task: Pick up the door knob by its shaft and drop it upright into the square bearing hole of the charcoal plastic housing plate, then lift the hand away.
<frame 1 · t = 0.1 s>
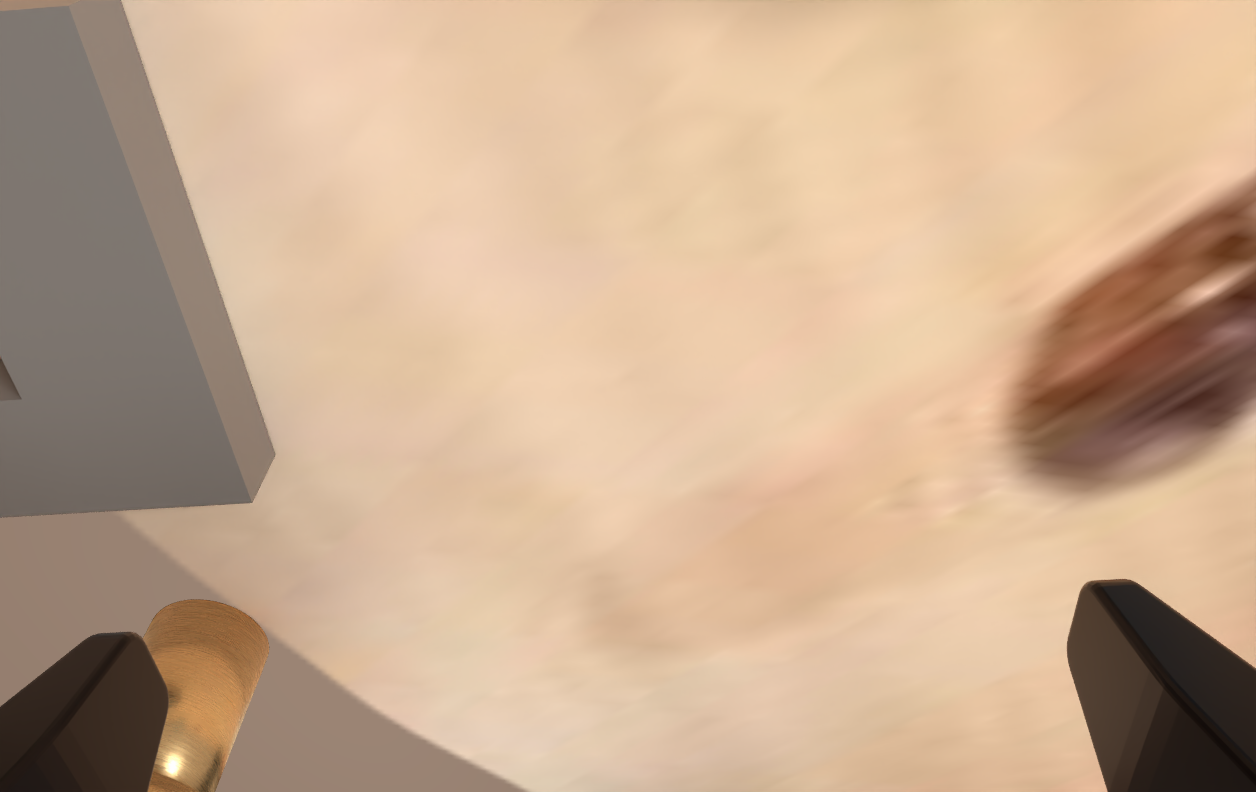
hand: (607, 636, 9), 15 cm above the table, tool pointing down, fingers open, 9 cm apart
door knob: (210, 640, 30), on the table
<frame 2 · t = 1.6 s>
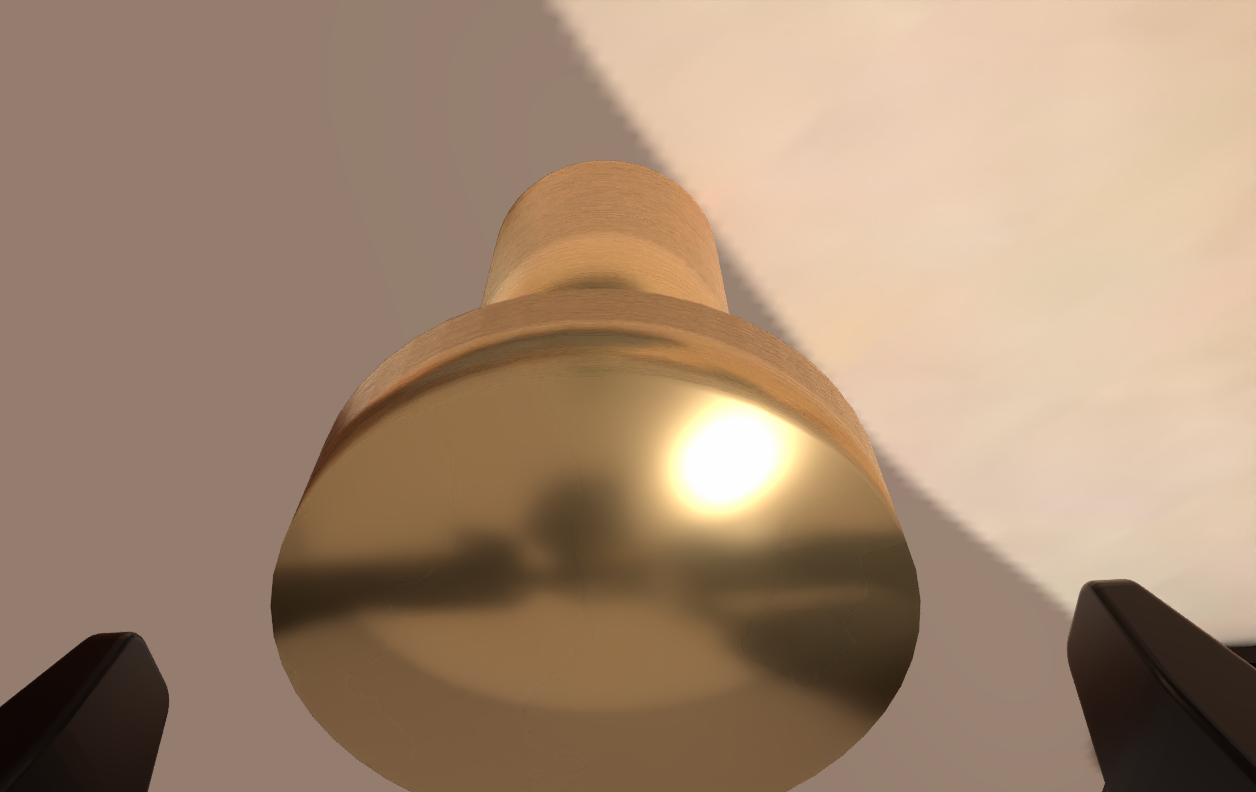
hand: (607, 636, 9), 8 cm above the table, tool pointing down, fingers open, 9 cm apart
door knob: (606, 267, 16), on the table
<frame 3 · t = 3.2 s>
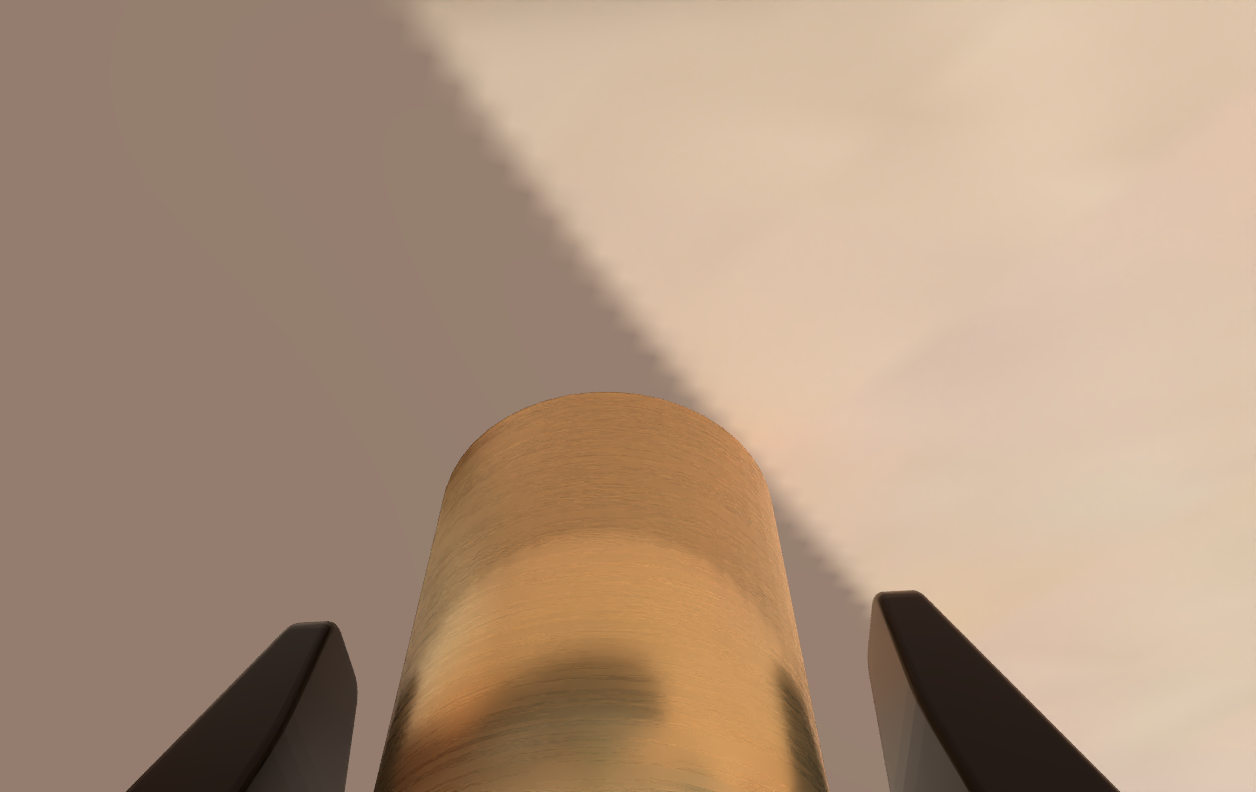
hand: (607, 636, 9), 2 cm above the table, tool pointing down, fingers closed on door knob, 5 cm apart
door knob: (607, 529, 11), on the table, touching gripper
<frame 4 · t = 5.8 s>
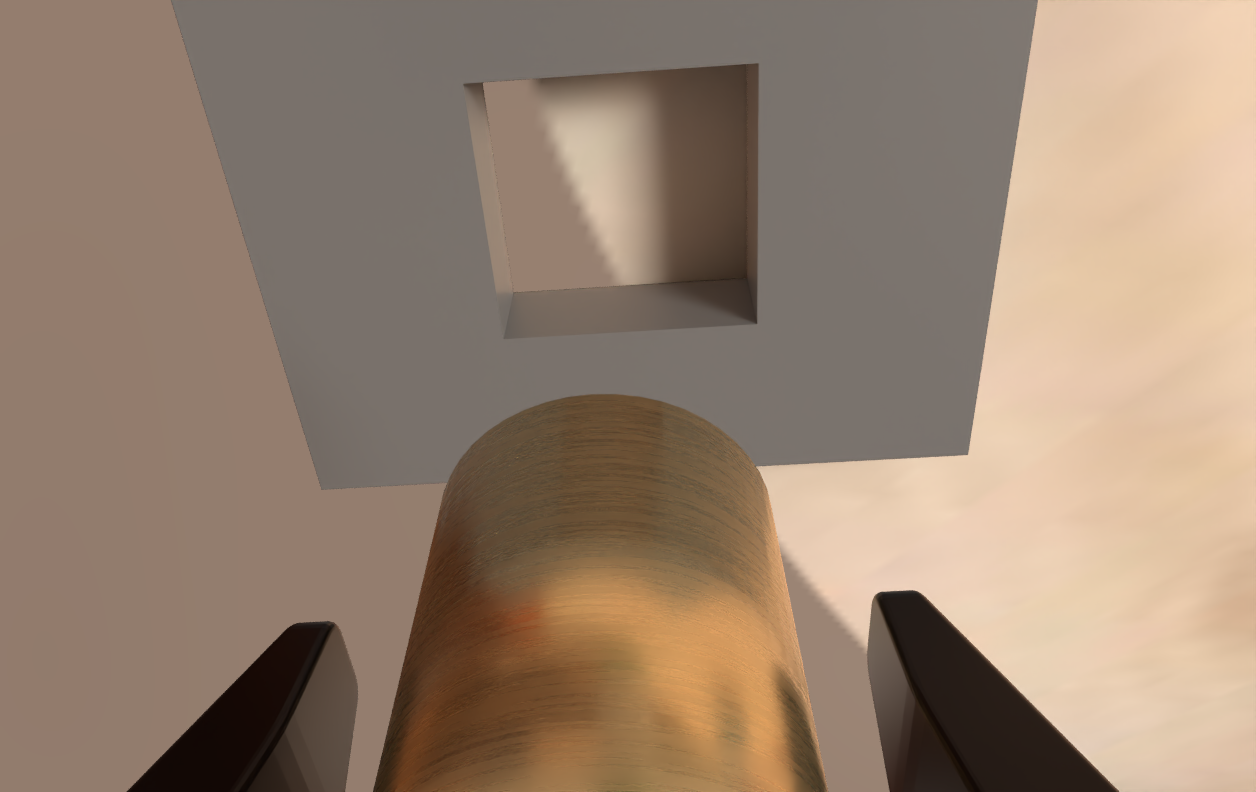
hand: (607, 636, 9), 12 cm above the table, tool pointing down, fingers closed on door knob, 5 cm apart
housing plate: (621, 173, 19), on the table
door knob: (606, 531, 11), point 11 cm above the table, touching gripper
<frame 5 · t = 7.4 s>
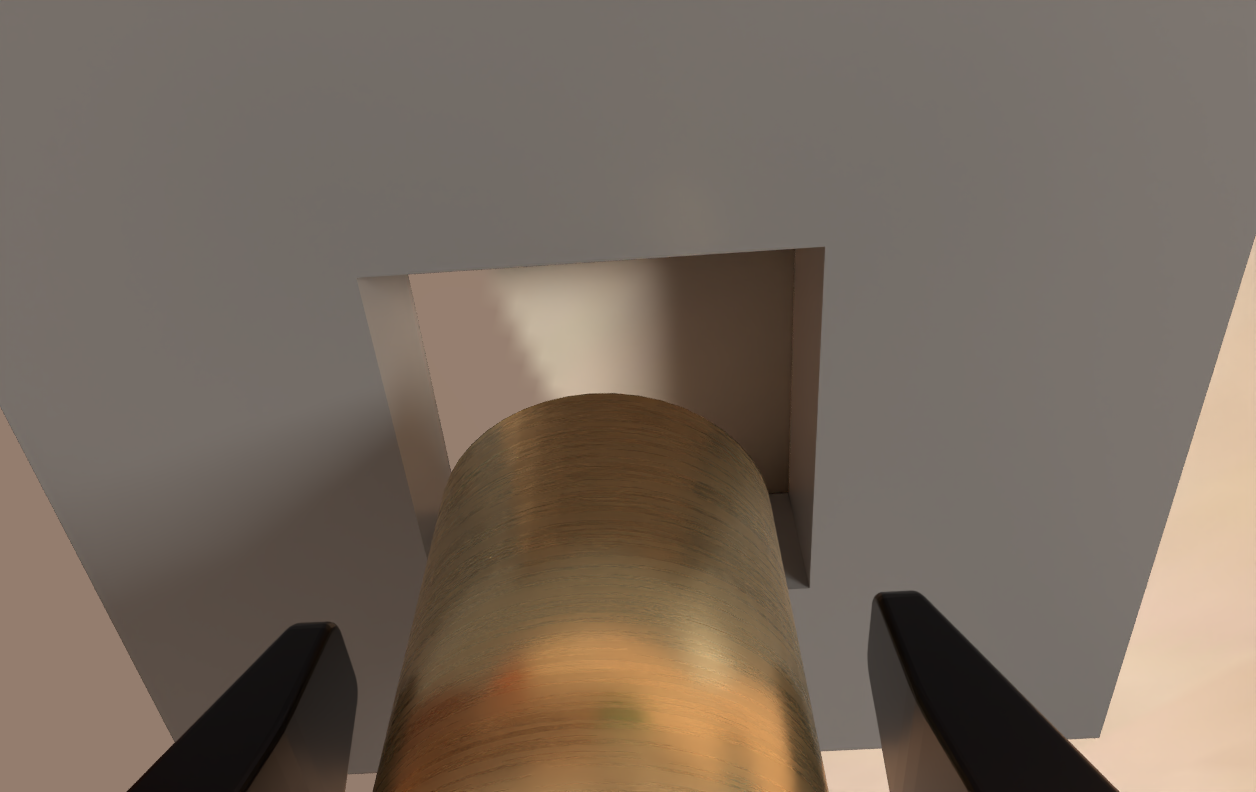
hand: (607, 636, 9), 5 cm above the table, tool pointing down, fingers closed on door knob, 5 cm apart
housing plate: (609, 362, 13), on the table
door knob: (606, 531, 11), point 3 cm above the table, touching gripper
when the fingers open (4 cm above the table, at t = 8.4 s): door knob drops 3 cm, resting in housing plate.
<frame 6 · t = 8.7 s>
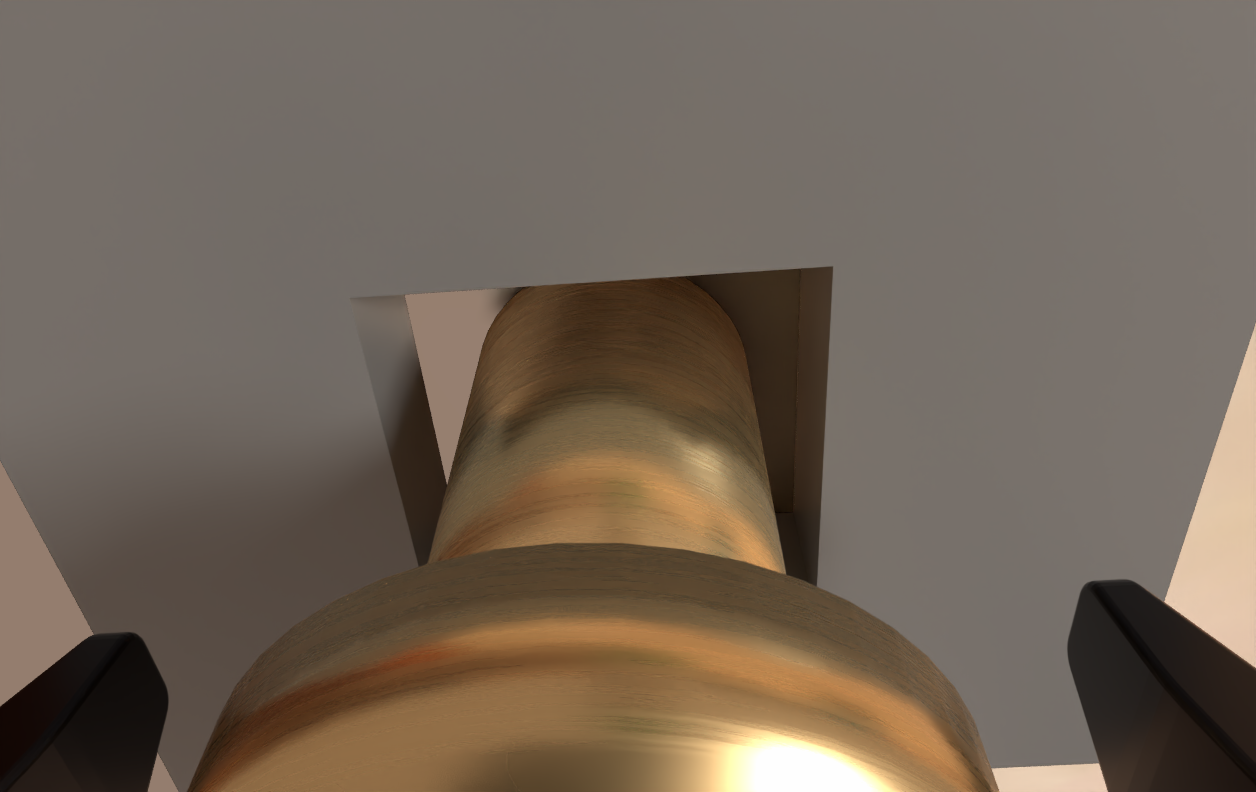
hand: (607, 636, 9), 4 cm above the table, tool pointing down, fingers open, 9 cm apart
housing plate: (610, 380, 13), on the table
door knob: (613, 381, 13), resting in housing plate
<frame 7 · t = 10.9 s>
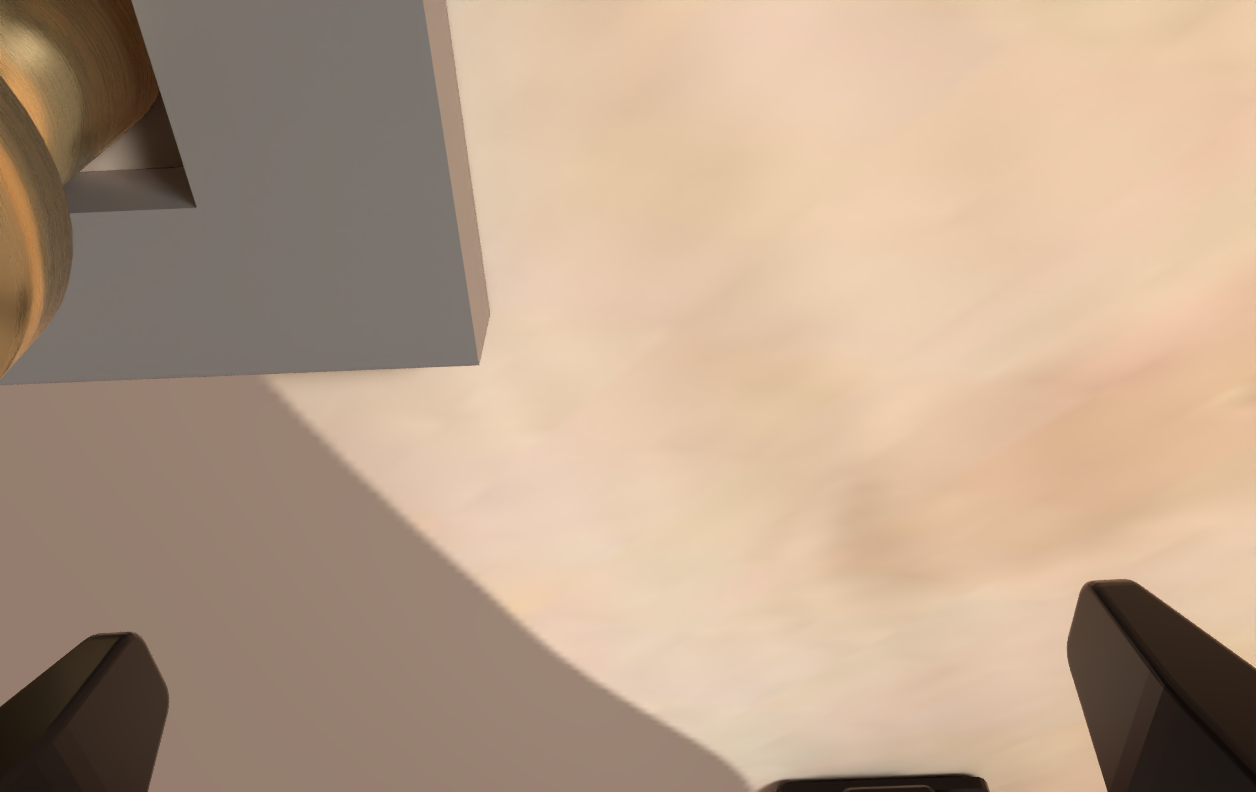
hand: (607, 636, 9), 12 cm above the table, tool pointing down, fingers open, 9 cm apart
housing plate: (55, 36, 17), on the table
door knob: (58, 38, 17), resting in housing plate
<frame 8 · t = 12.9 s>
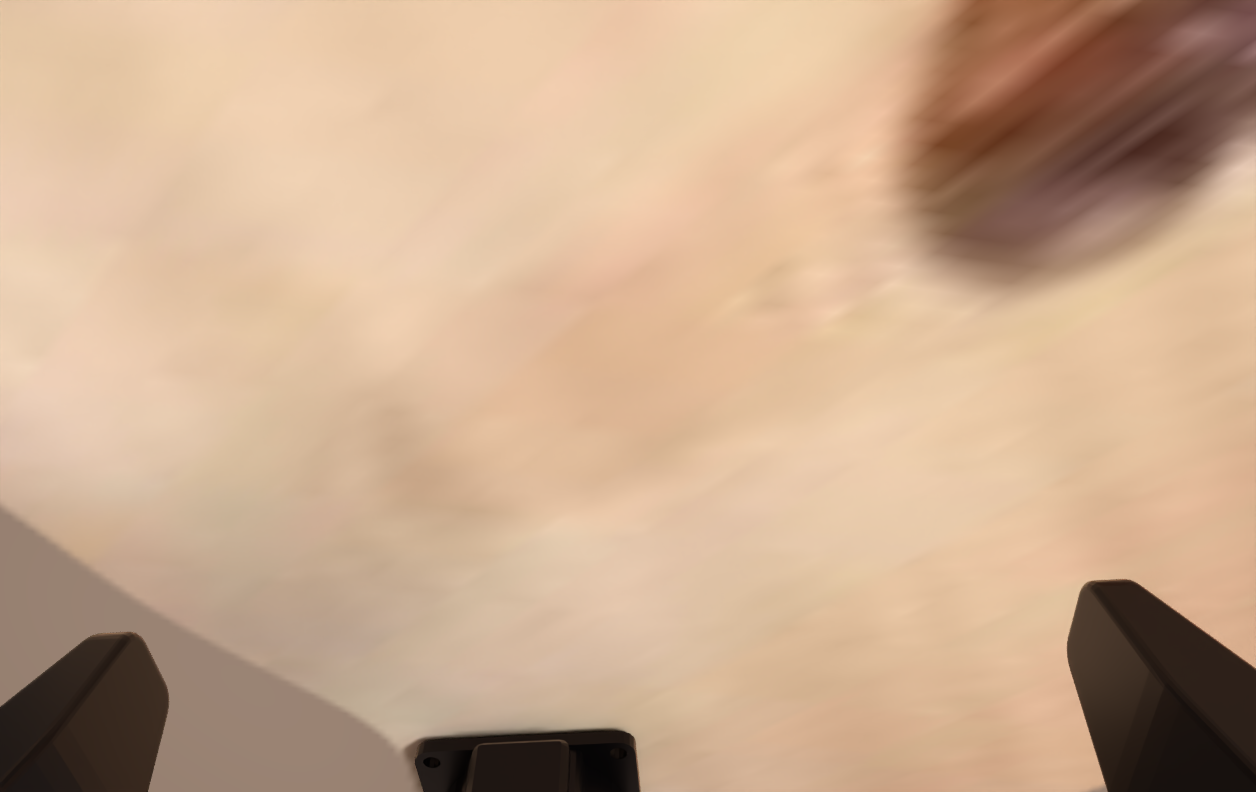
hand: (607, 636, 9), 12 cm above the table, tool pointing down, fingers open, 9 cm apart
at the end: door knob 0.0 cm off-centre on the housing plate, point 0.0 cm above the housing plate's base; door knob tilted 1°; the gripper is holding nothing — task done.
